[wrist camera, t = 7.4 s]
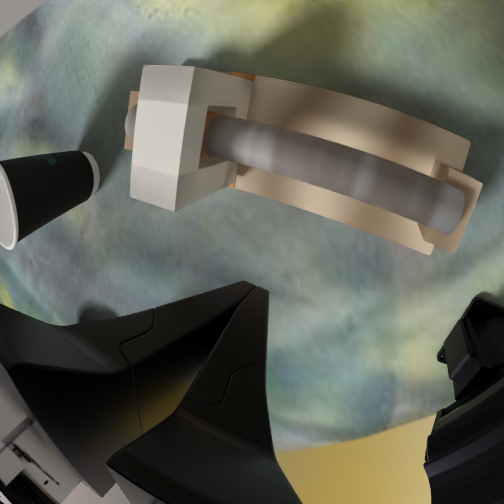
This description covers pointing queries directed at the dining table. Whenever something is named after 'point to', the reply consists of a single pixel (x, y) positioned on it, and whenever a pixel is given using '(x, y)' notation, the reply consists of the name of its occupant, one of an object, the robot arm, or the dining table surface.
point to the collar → (181, 133)
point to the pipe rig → (345, 161)
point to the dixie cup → (42, 190)
